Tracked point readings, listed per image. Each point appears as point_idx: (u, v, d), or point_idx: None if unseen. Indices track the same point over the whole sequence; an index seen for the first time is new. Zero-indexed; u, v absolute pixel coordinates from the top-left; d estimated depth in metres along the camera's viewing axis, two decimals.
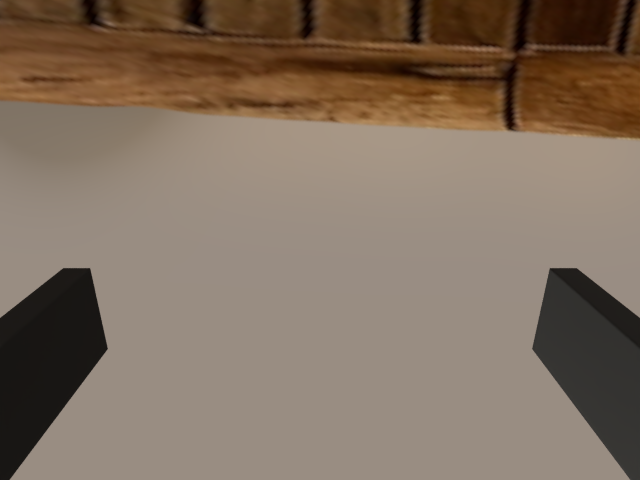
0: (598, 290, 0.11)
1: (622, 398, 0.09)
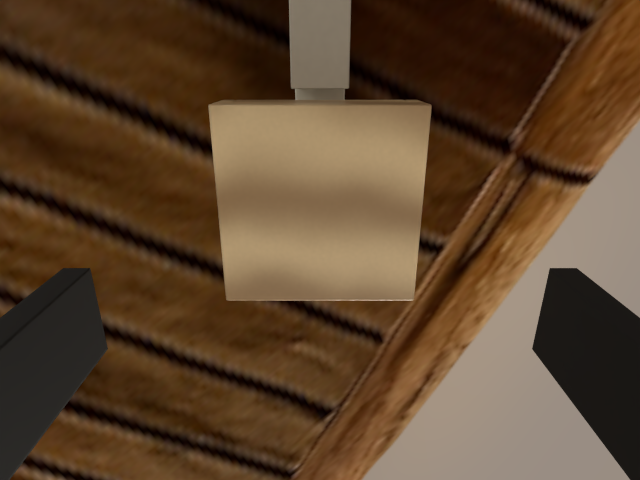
0: (598, 290, 0.11)
1: (622, 398, 0.09)
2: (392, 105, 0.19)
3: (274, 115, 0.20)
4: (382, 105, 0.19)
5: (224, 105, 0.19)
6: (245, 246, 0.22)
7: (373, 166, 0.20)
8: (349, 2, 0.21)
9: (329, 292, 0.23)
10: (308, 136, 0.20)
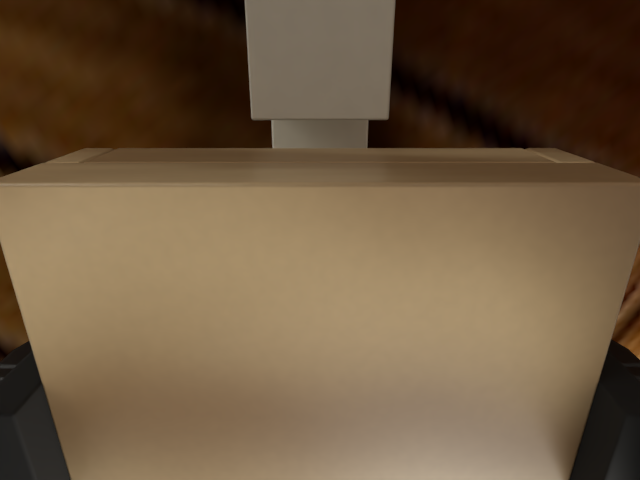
0: None
1: None
2: (539, 185, 0.06)
3: (184, 213, 0.07)
4: (509, 185, 0.06)
5: (31, 185, 0.06)
6: None
7: (467, 342, 0.07)
8: None
9: None
10: (287, 268, 0.07)
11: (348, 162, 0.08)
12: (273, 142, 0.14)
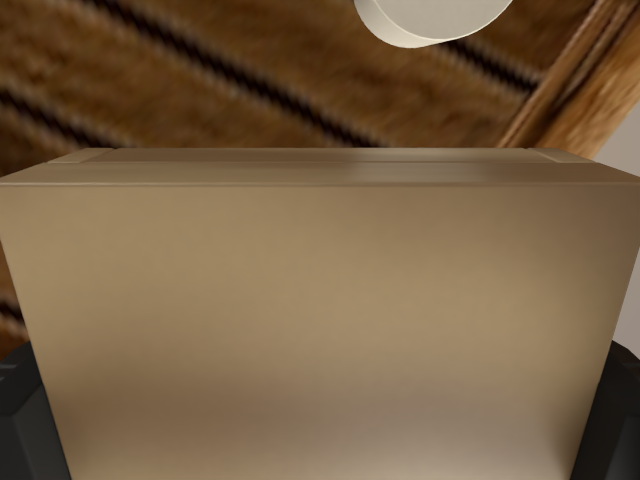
0: None
1: None
2: (540, 185, 0.06)
3: (185, 213, 0.07)
4: (510, 185, 0.06)
5: (32, 185, 0.06)
6: None
7: (468, 342, 0.07)
8: None
9: None
10: (288, 268, 0.07)
11: (349, 162, 0.08)
12: None
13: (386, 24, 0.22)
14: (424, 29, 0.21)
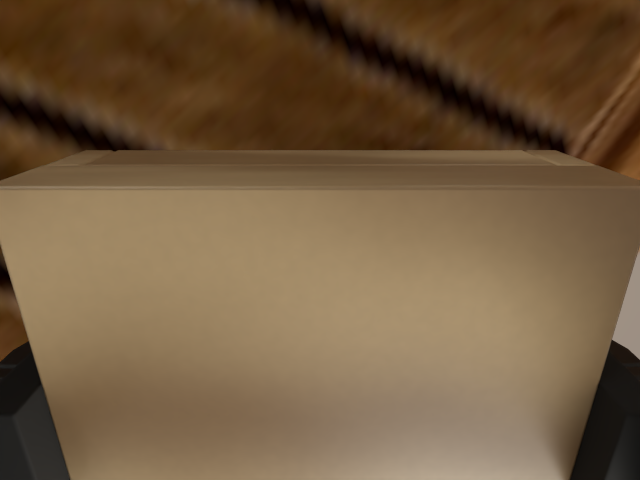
0: None
1: None
2: (539, 188, 0.06)
3: (184, 216, 0.07)
4: (509, 188, 0.06)
5: (31, 188, 0.06)
6: None
7: (467, 344, 0.07)
8: None
9: None
10: (287, 271, 0.07)
11: (348, 165, 0.08)
12: None
13: None
14: None
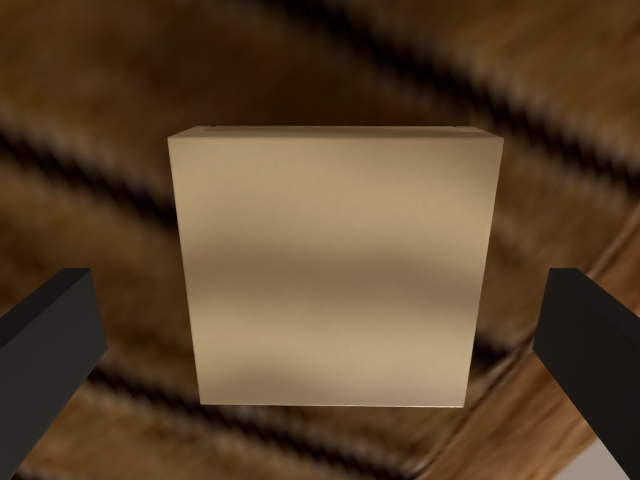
0: (598, 290, 0.11)
1: (623, 398, 0.09)
2: (444, 139, 0.13)
3: (266, 153, 0.13)
4: (429, 139, 0.13)
5: (191, 138, 0.13)
6: (226, 334, 0.15)
7: (412, 227, 0.14)
8: None
9: (344, 395, 0.16)
10: (317, 183, 0.13)
11: (349, 131, 0.14)
12: None
13: None
14: None
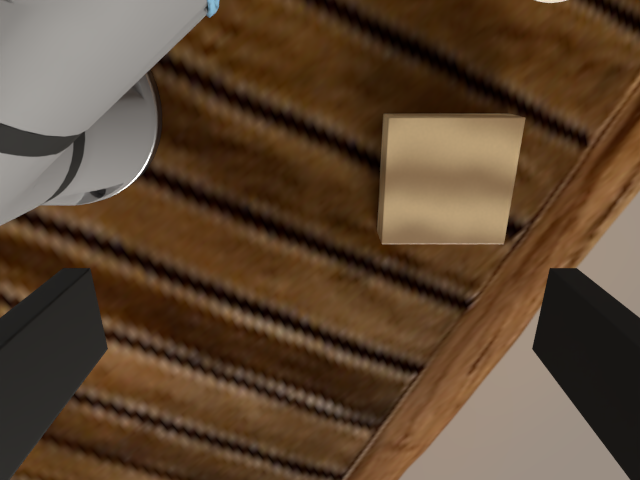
0: (598, 290, 0.11)
1: (623, 398, 0.09)
2: (501, 118, 0.32)
3: (428, 124, 0.32)
4: (495, 118, 0.32)
5: (398, 118, 0.32)
6: (399, 207, 0.34)
7: (486, 155, 0.33)
8: None
9: (449, 238, 0.35)
10: (447, 137, 0.32)
11: (458, 115, 0.33)
12: None
13: None
14: None
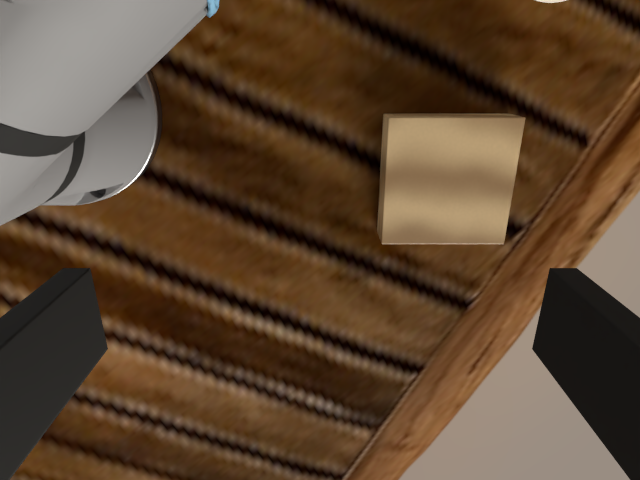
0: (598, 290, 0.11)
1: (623, 398, 0.09)
2: (501, 118, 0.32)
3: (428, 124, 0.32)
4: (495, 118, 0.32)
5: (398, 118, 0.32)
6: (399, 207, 0.34)
7: (486, 155, 0.33)
8: None
9: (449, 238, 0.35)
10: (447, 137, 0.32)
11: (458, 115, 0.33)
12: None
13: None
14: None
